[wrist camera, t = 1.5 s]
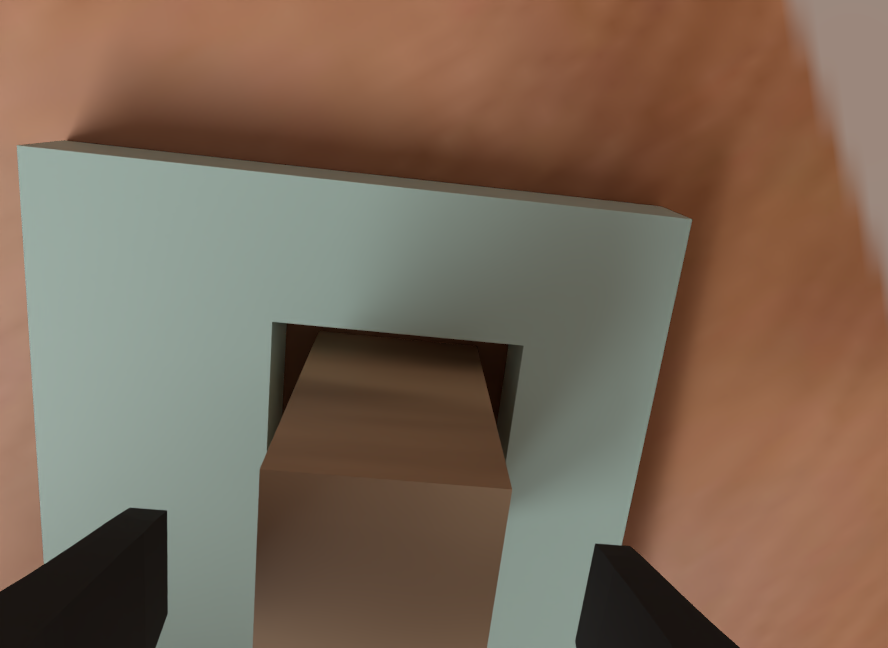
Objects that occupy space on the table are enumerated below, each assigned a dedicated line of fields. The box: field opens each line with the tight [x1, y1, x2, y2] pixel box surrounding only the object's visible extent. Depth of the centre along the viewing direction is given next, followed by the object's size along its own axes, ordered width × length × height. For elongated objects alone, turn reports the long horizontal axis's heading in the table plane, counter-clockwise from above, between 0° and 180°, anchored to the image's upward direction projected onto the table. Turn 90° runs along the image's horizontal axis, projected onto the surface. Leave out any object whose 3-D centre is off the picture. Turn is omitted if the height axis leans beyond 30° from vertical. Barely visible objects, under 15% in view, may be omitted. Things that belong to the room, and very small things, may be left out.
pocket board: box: [17, 140, 692, 648], centre depth 18 cm, size 16×14×2 cm
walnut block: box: [253, 331, 512, 648], centre depth 15 cm, size 4×4×7 cm
